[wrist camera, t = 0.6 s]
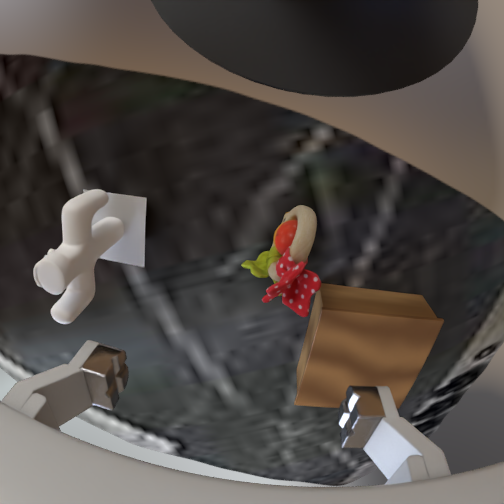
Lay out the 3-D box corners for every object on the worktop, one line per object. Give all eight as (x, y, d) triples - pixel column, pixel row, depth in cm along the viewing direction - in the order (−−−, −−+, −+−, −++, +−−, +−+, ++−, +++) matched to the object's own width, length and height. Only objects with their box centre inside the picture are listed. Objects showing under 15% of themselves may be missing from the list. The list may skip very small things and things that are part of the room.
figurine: (160, 179, 32) (80, 224, 18) (156, 262, 35) (92, 342, 22) (101, 172, 32) (6, 211, 18) (101, 251, 36) (24, 318, 22)
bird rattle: (262, 202, 34) (234, 284, 34) (275, 179, 23) (234, 299, 23) (317, 221, 34) (290, 302, 34) (354, 208, 23) (316, 325, 23)
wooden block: (316, 279, 35) (321, 309, 29) (424, 292, 34) (444, 320, 29) (293, 371, 40) (294, 405, 34) (388, 377, 39) (399, 408, 34)
